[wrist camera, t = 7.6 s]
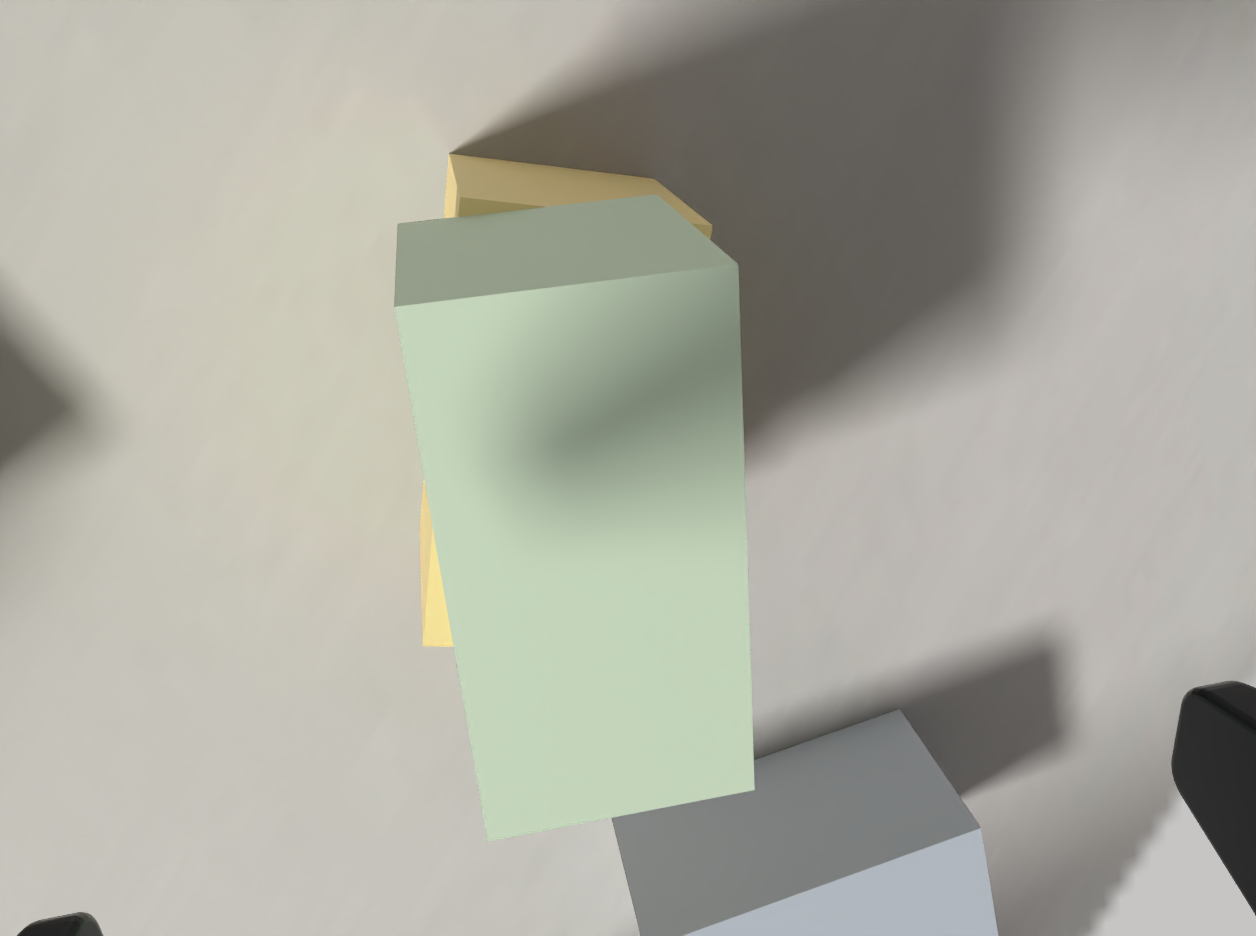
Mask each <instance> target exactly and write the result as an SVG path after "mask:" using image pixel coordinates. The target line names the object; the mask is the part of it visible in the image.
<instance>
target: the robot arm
mask: <svg viewBox="0 0 1256 936" xmlns="http://www.w3.org/2000/svg"><path fill="white" fill-rule="evenodd" d="M1171 764H1172V773H1173V777H1174V781H1175V783H1176V786H1177V788H1178V790H1179V792H1180V794H1181V796H1182V797H1183V799H1184V801H1185V802H1186V804H1187V805H1188V807H1189V808H1190V810H1191V812H1192V813H1193V815H1194V817H1195V818H1196V820H1197V822H1198V823H1199V825H1200V826H1201V828H1202V830H1203V831H1204V833H1205V834H1206V836H1207V838H1208V839H1209V841H1210V842H1211V844H1212V845H1213V847H1214V849H1215V850H1216V852H1217V854H1218V855H1219V857H1220V858H1221V860H1222V862H1223V863H1224V865H1225V866H1226V868H1227V870H1228V871H1229V873H1230V875H1231V876H1232V878H1233V879H1234V881H1235V883H1236V884H1237V886H1238V887H1239V889H1240V890H1241V892H1242V894H1243V896H1244V897H1245V898H1246V900H1247V902H1248V904H1249V905H1250V907H1251V908H1252V910H1253V912H1254V913H1255V915H1256V688H1255V687H1252V686H1250V685H1247V684H1244V683H1241V682H1237V681H1225V682H1220V683H1215V684H1210V685H1205V686H1200V687H1196V688H1193V689H1191V690H1189V691H1188V692H1187V694H1186V695H1185V696H1184V698H1183V700H1182V704H1181V709H1180V715H1179V720H1178V726H1177V732H1176V738H1175V743H1174V749H1173V755H1172V763H1171ZM17 936H103V934H102V932H101V929H100V927H99V925H98V923H97V921H96V920H95V918H94V917H93V916H92V915H90V914H88V913H84V912H77V913H72V914H67V915H63V916H58V917H53V918H48V919H43V920H38V921H36V922H33V923H31V924H29V925H28V926H27V927H25V928H24V929H23V930H22V931H21V932H20V933H19V934H18V935H17Z"/></svg>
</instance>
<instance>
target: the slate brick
mask: <svg viewBox="0 0 1256 936" xmlns="http://www.w3.org/2000/svg"><path fill="white" fill-rule="evenodd" d="M754 786H755V790H752V791H747V792H742V793H737V794H732V795H726V796H721V797H716V798H711V799H706V800H701V801H695V802H690V803H685V804H680V805H675V806H670V807H665V808H659V809H654V810H649V811H644V812H639V813H634V814H628V815H623V816H618V817H613V818H612V822H613V826H614V830H615V834H616V838H617V842H618V846H619V850H620V854H621V858H622V862H623V866H624V870H625V874H626V878H627V882H628V886H629V890H630V894H631V898H632V902H633V906H634V911H635V915H636V919H637V923H638V927H639V931H640V935H641V936H998V930H997V924H996V917H995V911H994V905H993V899H992V893H991V886H990V880H989V874H988V868H987V862H986V855H985V849H984V843H983V837H982V831H981V827H980V826H979V824H978V823H977V821H976V820H975V818H974V817H973V815H972V814H971V812H970V811H969V810H968V808H967V807H966V805H965V804H964V802H963V801H962V799H961V798H960V796H959V795H958V793H957V792H956V790H955V789H954V788H953V786H952V785H951V783H950V782H949V780H948V779H947V777H946V776H945V774H944V773H943V771H942V770H941V769H940V767H939V766H938V764H937V763H936V761H935V760H934V758H933V757H932V755H931V754H930V752H929V751H928V749H927V748H926V747H925V745H924V744H923V742H922V741H921V739H920V738H919V736H918V735H917V733H916V732H915V730H914V729H913V728H912V726H911V725H910V723H909V722H908V720H907V719H906V717H905V716H904V714H903V713H902V711H901V710H900V709H898V710H895V711H892V712H889V713H886V714H883V715H881V716H878V717H875V718H872V719H869V720H866V721H864V722H861V723H858V724H855V725H852V726H849V727H847V728H844V729H841V730H838V731H835V732H832V733H829V734H827V735H824V736H821V737H818V738H815V739H812V740H810V741H807V742H804V743H801V744H798V745H795V746H793V747H790V748H787V749H784V750H781V751H778V752H775V753H773V754H770V755H767V756H764V757H761V758H758V759H756V760H754Z"/></svg>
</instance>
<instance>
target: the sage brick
mask: <svg viewBox="0 0 1256 936" xmlns="http://www.w3.org/2000/svg"><path fill="white" fill-rule="evenodd" d="M394 309H395V314H396V320H397V326H398V331H399V337H400V343H401V349H402V354H403V360H404V366H405V372H406V377H407V383H408V389H409V394H410V400H411V406H412V412H413V417H414V423H415V429H416V435H417V440H418V446H419V452H420V457H421V463H422V469H423V475H424V480H425V486H426V492H427V498H428V503H429V509H430V515H431V520H432V526H433V532H434V538H435V543H436V549H437V555H438V561H439V566H440V572H441V578H442V583H443V589H444V595H445V601H446V606H447V612H448V618H449V624H450V629H451V635H452V641H453V646H454V652H455V658H456V664H457V669H458V675H459V681H460V687H461V692H462V698H463V704H464V709H465V715H466V721H467V727H468V732H469V738H470V744H471V749H472V755H473V761H474V767H475V772H476V778H477V784H478V790H479V795H480V801H481V807H482V812H483V818H484V824H485V830H486V835H487V841H488V842H489V841H494V840H500V839H505V838H510V837H515V836H520V835H525V834H531V833H536V832H541V831H546V830H551V829H556V828H561V827H567V826H572V825H577V824H582V823H587V822H592V821H598V820H603V819H608V818H613V817H618V816H623V815H628V814H634V813H639V812H644V811H649V810H654V809H659V808H665V807H670V806H675V805H680V804H685V803H690V802H695V801H701V800H706V799H711V798H716V797H721V796H726V795H732V794H737V793H742V792H747V791H752V790H755V786H754V753H753V721H752V688H751V656H750V623H749V591H748V558H747V526H746V493H745V461H744V428H743V396H742V363H741V331H740V298H739V265H738V263H737V262H735V261H734V260H733V259H732V258H731V257H730V256H728V255H727V254H726V253H725V252H724V251H723V250H721V249H720V248H719V247H718V246H717V245H716V244H714V243H713V242H712V241H711V240H710V239H709V238H707V237H706V236H705V235H704V234H703V233H702V232H700V231H699V230H698V229H697V228H696V227H695V226H693V225H692V224H691V223H690V222H689V221H688V220H686V219H685V218H684V217H683V216H682V215H681V214H679V213H678V212H677V211H676V210H675V209H674V208H672V207H671V206H670V205H669V204H668V203H667V202H665V201H664V200H663V199H662V198H661V197H660V196H658V195H657V194H654V195H646V196H637V197H628V198H619V199H610V200H601V201H593V202H584V203H575V204H566V205H557V206H549V207H540V208H531V209H523V210H514V211H505V212H496V213H487V214H479V215H470V216H461V217H452V218H443V219H434V220H425V221H417V222H408V223H399V224H398V226H397V251H396V275H395V300H394Z"/></svg>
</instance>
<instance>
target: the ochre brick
mask: <svg viewBox="0 0 1256 936" xmlns="http://www.w3.org/2000/svg"><path fill="white" fill-rule="evenodd" d="M654 194H657V195H658V196H660V197H661V198H662V199H663V200H664V201H665V202H667V203H668V204H669V205H670V206H671V207H672V208H674V209H675V210H676V211H677V212H678V213H679V214H681V215H682V216H683V217H684V218H685V219H686V220H688V221H689V222H690V223H691V224H692V225H693V226H695V227H696V228H697V229H698V230H699V231H700V232H702V233H703V234H704V235H705V236H706V237H707V238H709V239H710V240H711V235H712V229H713V225H711V224H710V223H709V222H708V221H706V220H705V219H704V218H703V217H701V216H700V215H699V214H698V213H696V212H695V211H694V210H693V209H691V208H690V207H689V206H688V205H686V204H685V203H684V202H683V201H681V200H680V199H679V198H678V197H676V196H675V195H674V194H673V193H671V192H670V191H669V190H668V189H666V188H665V187H664V186H663V185H661V184H660V183H659V182H658V181H656V180H655V179H653V178H645V177H636V176H628V175H620V174H612V173H604V172H596V171H588V170H579V169H571V168H563V167H555V166H547V165H539V164H531V163H523V162H514V161H506V160H498V159H490V158H482V157H474V156H466V155H458V154H449V159H448V172H447V185H446V198H445V211H444V218H452V217H461V216H470V215H479V214H487V213H496V212H505V211H514V210H523V209H531V208H540V207H549V206H557V205H566V204H575V203H584V202H593V201H601V200H610V199H619V198H628V197H637V196H646V195H654ZM420 559H421V597H422V635H423V646H441V647H454V646H453V641H452V635H451V629H450V624H449V618H448V612H447V606H446V601H445V595H444V589H443V583H442V578H441V572H440V566H439V561H438V555H437V549H436V543H435V538H434V532H433V526H432V520H431V515H430V509H429V503H428V498H427V492H426V486H425V480H424V482H423V495H422V508H421V521H420Z"/></svg>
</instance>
